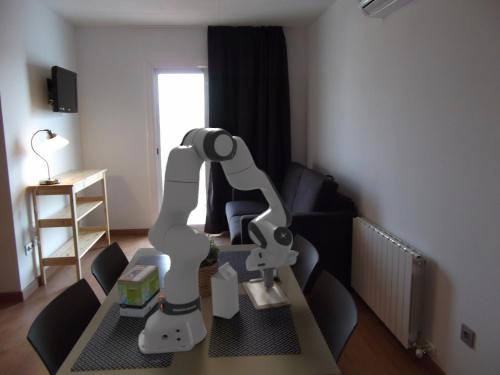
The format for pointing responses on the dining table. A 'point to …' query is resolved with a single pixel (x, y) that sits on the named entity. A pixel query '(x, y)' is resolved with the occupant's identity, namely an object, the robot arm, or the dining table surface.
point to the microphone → (268, 278)
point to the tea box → (138, 290)
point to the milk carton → (225, 292)
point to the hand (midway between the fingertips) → (268, 268)
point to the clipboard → (265, 295)
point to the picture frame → (275, 273)
